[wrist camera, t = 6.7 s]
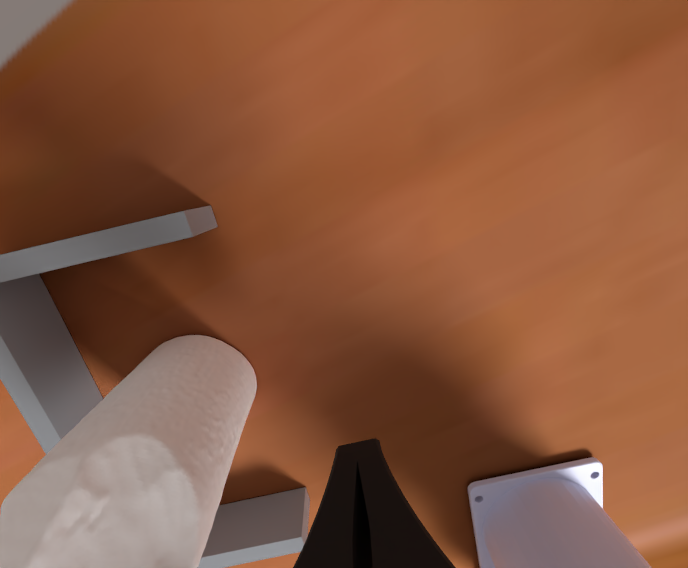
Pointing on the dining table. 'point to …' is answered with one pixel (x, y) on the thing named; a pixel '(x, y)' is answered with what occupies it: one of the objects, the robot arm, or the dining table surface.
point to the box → (83, 395)
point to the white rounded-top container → (137, 467)
